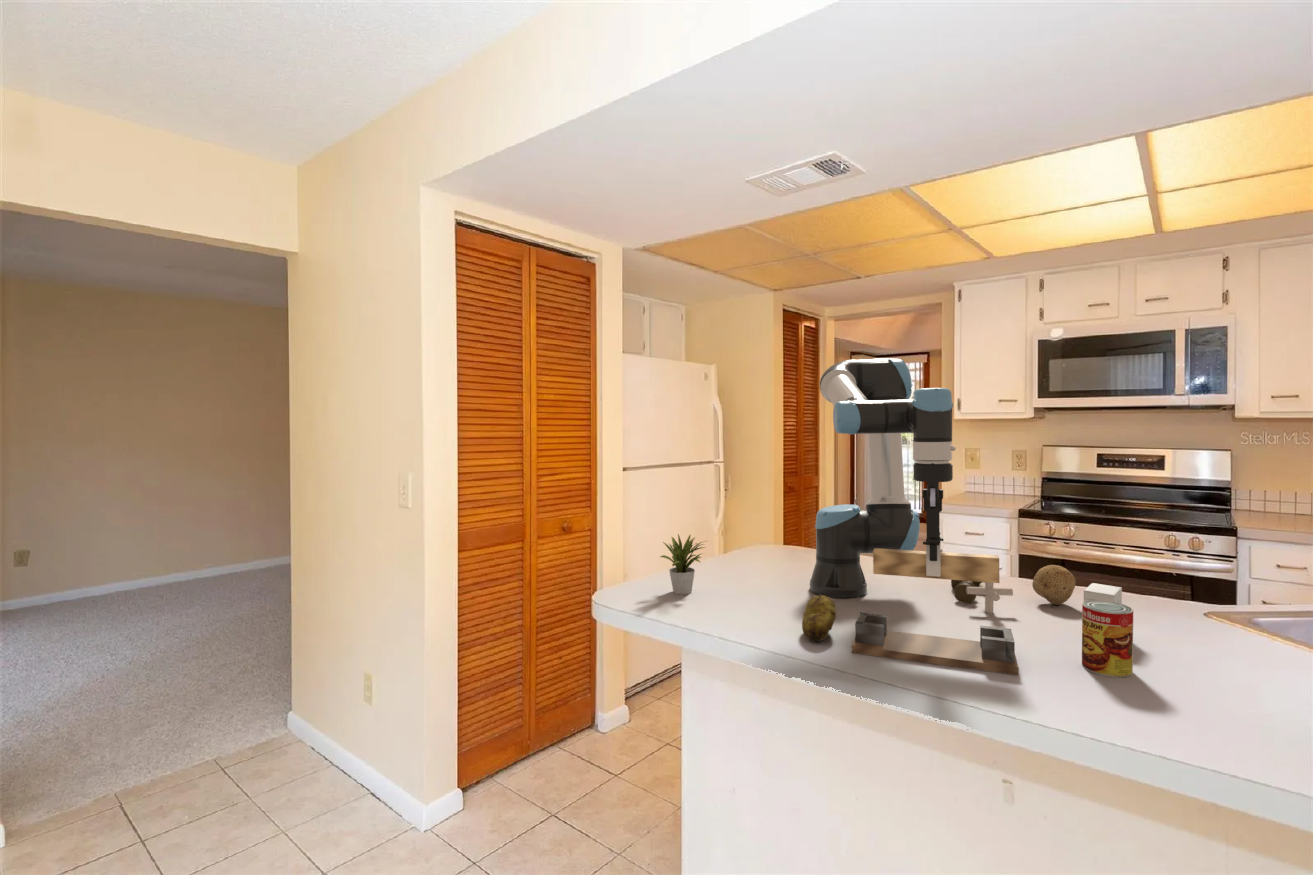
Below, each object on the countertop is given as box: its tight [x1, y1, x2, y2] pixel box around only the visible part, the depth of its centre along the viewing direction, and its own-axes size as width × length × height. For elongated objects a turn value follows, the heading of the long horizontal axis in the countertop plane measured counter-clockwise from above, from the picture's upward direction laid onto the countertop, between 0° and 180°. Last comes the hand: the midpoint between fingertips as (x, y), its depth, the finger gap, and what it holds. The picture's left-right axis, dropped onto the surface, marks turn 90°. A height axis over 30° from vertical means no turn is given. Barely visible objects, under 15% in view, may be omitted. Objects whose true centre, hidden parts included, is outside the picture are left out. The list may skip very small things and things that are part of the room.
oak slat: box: [872, 548, 1000, 584], centre depth 134 cm, size 24×3×5 cm, turn 66°
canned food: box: [1081, 600, 1134, 678], centre depth 121 cm, size 8×8×12 cm
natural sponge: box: [1031, 564, 1076, 606], centre depth 160 cm, size 9×9×10 cm
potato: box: [801, 594, 837, 643], centre depth 142 cm, size 8×13×8 cm, turn 140°
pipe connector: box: [966, 582, 1014, 614], centre depth 155 cm, size 10×10×10 cm
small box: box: [1083, 582, 1123, 604], centre depth 138 cm, size 8×6×10 cm
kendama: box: [950, 580, 985, 604], centre depth 171 cm, size 6×10×20 cm
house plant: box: [659, 533, 707, 596], centre depth 176 cm, size 14×14×16 cm
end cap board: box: [851, 612, 1020, 676], centre depth 130 cm, size 30×12×6 cm, turn 65°
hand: (933, 573), depth 134 cm, fingers closed on oak slat, 3 cm apart
